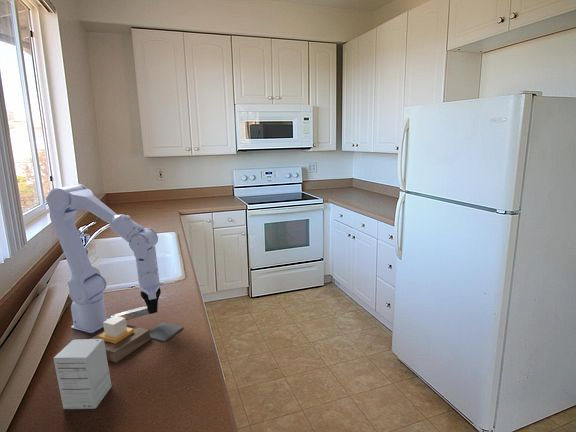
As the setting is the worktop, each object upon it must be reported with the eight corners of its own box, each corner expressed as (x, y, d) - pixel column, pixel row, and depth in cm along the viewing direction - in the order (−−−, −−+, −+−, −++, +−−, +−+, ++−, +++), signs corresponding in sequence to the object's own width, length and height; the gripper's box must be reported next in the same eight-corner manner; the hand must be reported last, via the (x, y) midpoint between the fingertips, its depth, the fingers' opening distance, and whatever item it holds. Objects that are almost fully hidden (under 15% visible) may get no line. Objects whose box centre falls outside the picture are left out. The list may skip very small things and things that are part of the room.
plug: (100, 350, 101) (96, 323, 99) (119, 338, 107) (115, 313, 105) (117, 354, 99) (113, 327, 97) (135, 342, 104) (131, 316, 103)
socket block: (84, 353, 100) (82, 343, 99) (120, 331, 110) (118, 322, 110) (116, 362, 95) (114, 352, 94) (150, 339, 106) (149, 329, 105)
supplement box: (81, 387, 86) (73, 338, 83) (112, 386, 86) (105, 337, 83) (61, 410, 79) (51, 357, 76) (95, 409, 78) (86, 357, 76)
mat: (143, 336, 107) (143, 335, 107) (162, 323, 114) (162, 322, 114) (164, 342, 104) (164, 340, 104) (183, 328, 111) (182, 326, 111)
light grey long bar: (110, 329, 106) (109, 318, 105) (109, 326, 107) (108, 315, 107) (158, 315, 113) (156, 305, 112) (156, 313, 114) (155, 303, 114)
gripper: (165, 275, 103) (170, 319, 106) (159, 261, 116) (163, 300, 119) (138, 280, 100) (144, 325, 103) (135, 265, 113) (140, 305, 116)
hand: (153, 312), depth 111 cm, fingers closed
